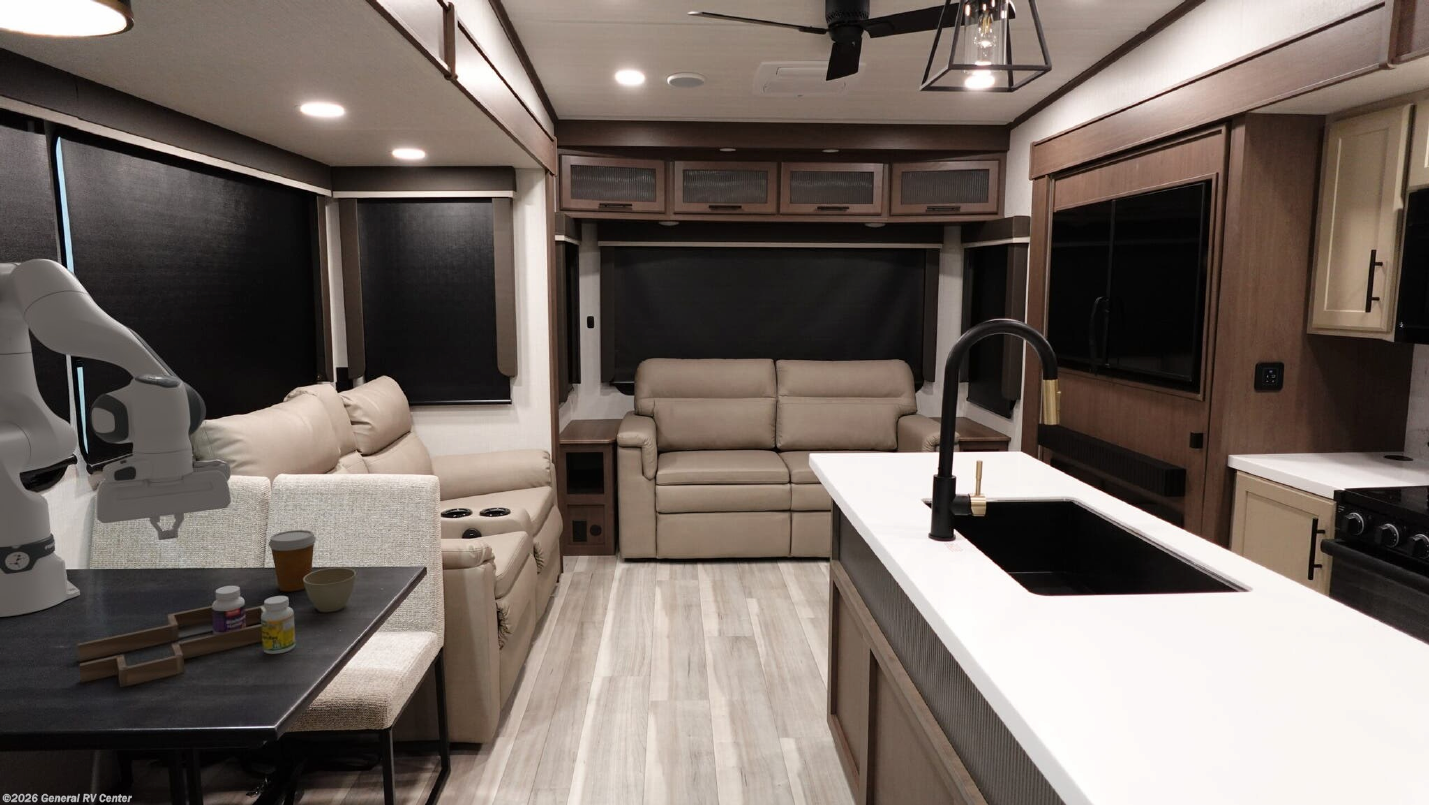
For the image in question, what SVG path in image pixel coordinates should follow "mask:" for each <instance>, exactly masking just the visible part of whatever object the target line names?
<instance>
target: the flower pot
mask: <svg viewBox="0 0 1429 805" xmlns="http://www.w3.org/2000/svg"><path fill="white" fill-rule="evenodd" d="M356 576H357V573H356V571H355V570H354V569H352V568H348V567H330V568H329V567H328V568H323V569H318V570H314V571H311V573H309V574H308V575H306V576H305V577H304V578H303V581H304V586H305V591H306V594H307V596H308V598H309V600H310V602H311V603H312V604H313V606H314V607H315V608H316V609H317V611H319V612H321V613H333V612H338V611H340V610H341V609H343V608H344V607H345V606H346V604H347V603H348V601H349V599H350V597H351V595H352V593H353V590H354V586H355V581H356Z"/></svg>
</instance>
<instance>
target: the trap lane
mask: <svg viewBox="0 0 1429 805" xmlns="http://www.w3.org/2000/svg"><path fill="white" fill-rule="evenodd" d="M265 610H266V609H265V608H264V605H259V606H254V607H251V608H250V607H249V608H245V620H246V628H241V629H237V630H232V631H228V632H223V633H219V634H209V635H206V636H202V637H195V638H193V639H187V640H183V641H179V640H182V639H186V638H191V637H194V636H200V635H203V634H208V633H213V616H212V605H209V606H204V607H200V608H199V607H198V608H195V609H194V608H193V609H189V610H184V611H179V612H174V613H169V614H166V620H167V625H162V626H158V627H153V628H148V629H144V630H143V629H142V630H139V631H138V630H137V631H133V632H128V633H123V634H119V635H118V634H117V635H115V636H114V635H113V636H109V637H104V638H99V639H94V640H90V641H86V642H85V641H84V642H79V643H77V654H78V655H77V656H78V662H80V663H79V671H80V681H81V682H80V683H85V682H86V683H87V682H90V681H94V680H99V679H104V678H108V677H112V676H117V675H118V681H119V686H120V688H124V687H129V686H133V685H136V684H141V683H144V682H150V681H153V680H158V679H163V678H166V677H170V676H175V675H179V674H183V673H185V661H184V660H185V659H190V658H194V657H195V658H196V657H199V656H204V655H208V654H212V653H216V652H221V651H225V650H229V649H233V648H234V649H235V648H239V647H243V646H246V645H249V644H250V645H251V644H254V643H255V644H256V643H259V642H263V641H262V625H261V615H262V613H263V612H264V611H265ZM258 623H260V624H258ZM255 624H256V625H255ZM250 625H252V626H250ZM176 641H178V642H176ZM171 642H174V643H171ZM166 643H171V656H168V657H163V658H159V659H154V660H150V661H146V662H142V663H137V664H133V665H127V664H126V660H125V655H124V654H121V653H125V652H129V651H135V650H140V649H143V648H148V647H153V646H157V645H163V644H166ZM117 654H118V655H117ZM110 655H111V656H110ZM112 655H114V656H112ZM107 656H109V657H107ZM103 657H104V658H103ZM105 657H106V658H105ZM97 658H100V659H97ZM93 659H96V660H93ZM89 660H91V661H89ZM84 661H85V662H84ZM81 662H82V663H81Z"/></svg>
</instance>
